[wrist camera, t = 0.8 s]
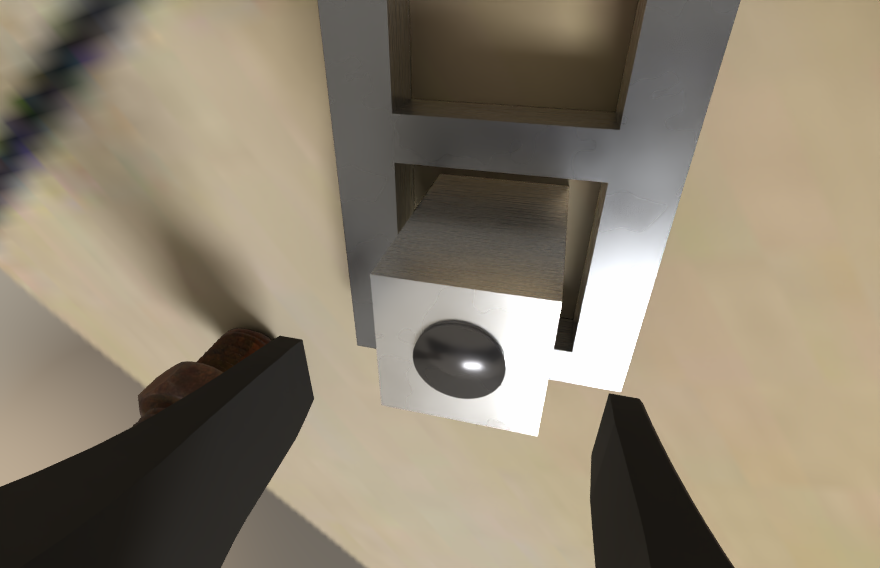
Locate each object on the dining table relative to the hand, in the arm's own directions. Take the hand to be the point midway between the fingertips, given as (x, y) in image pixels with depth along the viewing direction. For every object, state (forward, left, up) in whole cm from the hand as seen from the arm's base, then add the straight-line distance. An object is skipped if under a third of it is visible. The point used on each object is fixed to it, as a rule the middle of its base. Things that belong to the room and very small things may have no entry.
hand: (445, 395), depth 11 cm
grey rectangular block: (0, 0, -8) cm, 8 cm away
